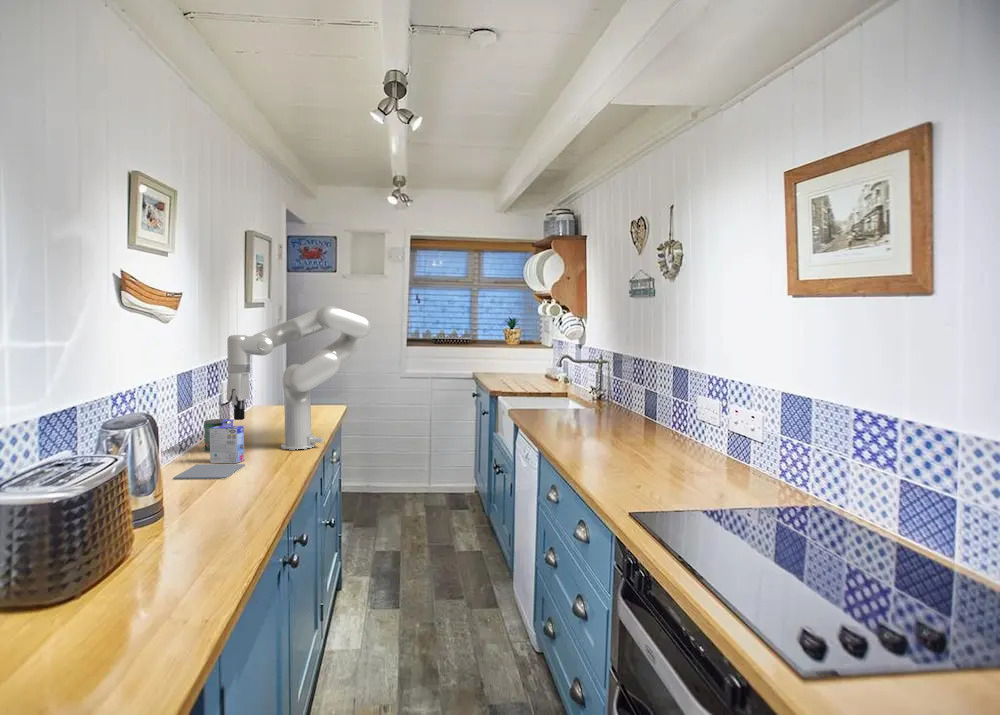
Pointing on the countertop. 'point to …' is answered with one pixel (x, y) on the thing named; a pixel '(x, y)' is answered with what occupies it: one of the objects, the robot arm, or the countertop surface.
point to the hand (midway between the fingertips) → (239, 419)
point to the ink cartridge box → (226, 443)
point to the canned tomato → (207, 426)
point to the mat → (209, 471)
